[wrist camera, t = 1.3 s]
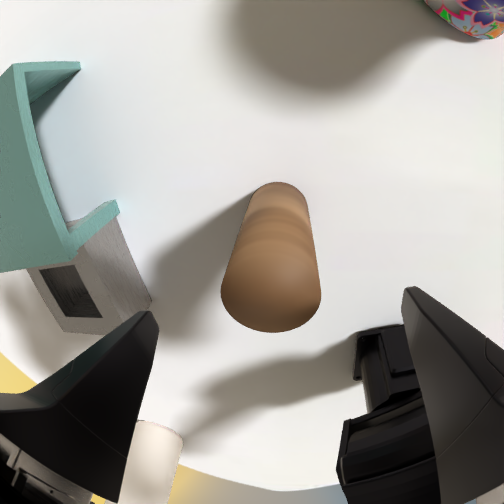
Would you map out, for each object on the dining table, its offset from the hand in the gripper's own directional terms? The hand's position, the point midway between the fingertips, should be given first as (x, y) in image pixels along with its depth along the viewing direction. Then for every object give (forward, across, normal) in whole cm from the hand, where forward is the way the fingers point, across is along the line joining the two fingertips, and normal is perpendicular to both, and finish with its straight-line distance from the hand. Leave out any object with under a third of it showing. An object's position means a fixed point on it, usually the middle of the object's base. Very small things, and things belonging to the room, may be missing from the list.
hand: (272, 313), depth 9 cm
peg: (+9, 0, 0) cm, 9 cm away
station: (+9, +15, -4) cm, 18 cm away
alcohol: (+9, +24, +34) cm, 42 cm away
